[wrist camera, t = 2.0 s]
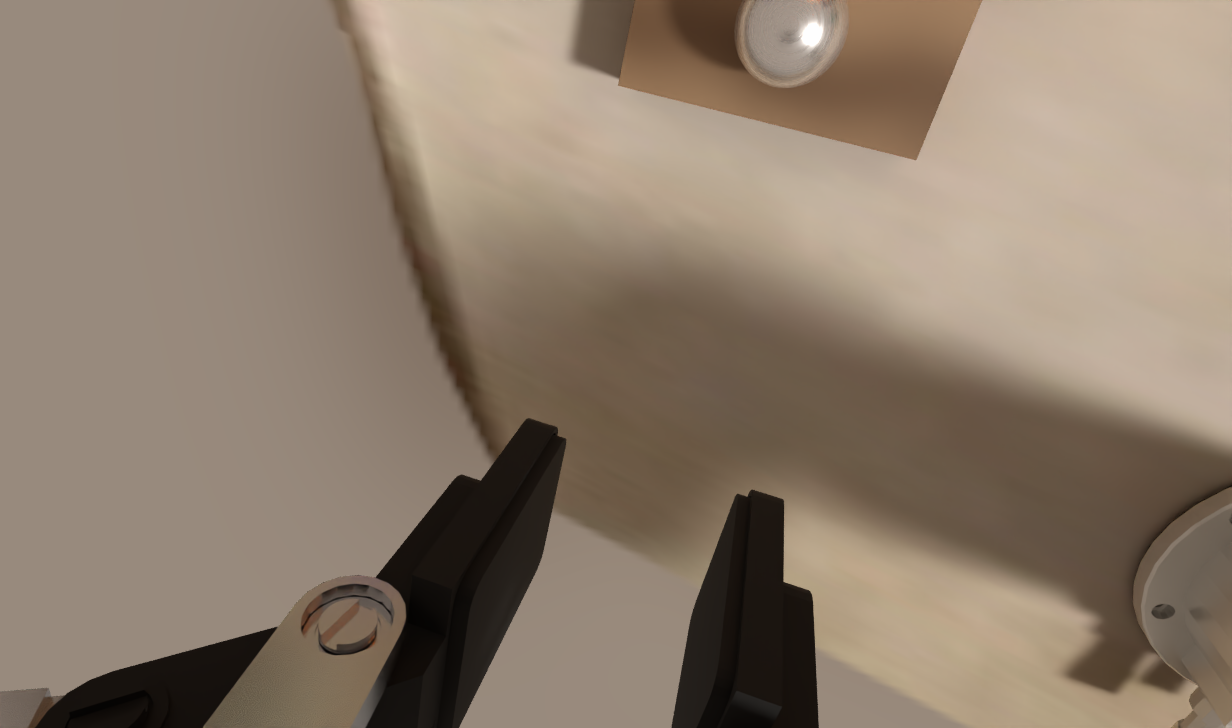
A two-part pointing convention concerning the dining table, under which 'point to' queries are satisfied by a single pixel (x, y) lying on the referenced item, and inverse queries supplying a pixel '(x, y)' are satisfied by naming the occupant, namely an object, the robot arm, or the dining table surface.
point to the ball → (790, 38)
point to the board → (832, 103)
